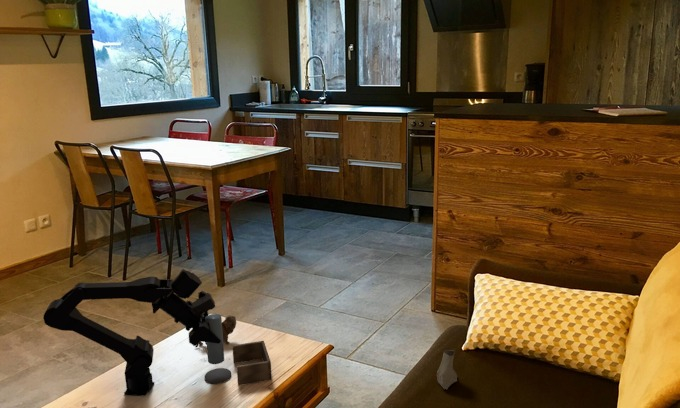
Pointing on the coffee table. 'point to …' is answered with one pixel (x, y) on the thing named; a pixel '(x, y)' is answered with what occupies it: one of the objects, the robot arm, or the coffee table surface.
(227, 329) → the lion figurine
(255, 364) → the crate
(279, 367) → the coffee table surface
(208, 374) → the coaster
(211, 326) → the grey post
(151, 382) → the robot arm
